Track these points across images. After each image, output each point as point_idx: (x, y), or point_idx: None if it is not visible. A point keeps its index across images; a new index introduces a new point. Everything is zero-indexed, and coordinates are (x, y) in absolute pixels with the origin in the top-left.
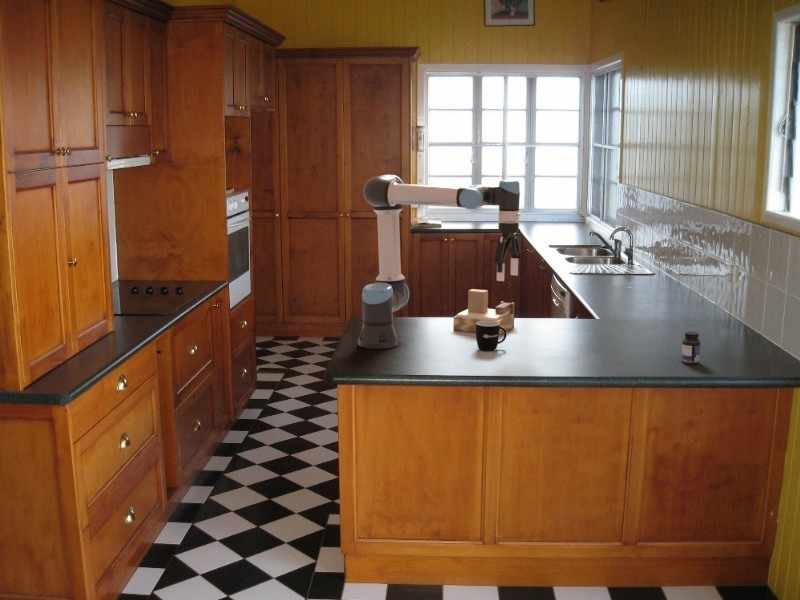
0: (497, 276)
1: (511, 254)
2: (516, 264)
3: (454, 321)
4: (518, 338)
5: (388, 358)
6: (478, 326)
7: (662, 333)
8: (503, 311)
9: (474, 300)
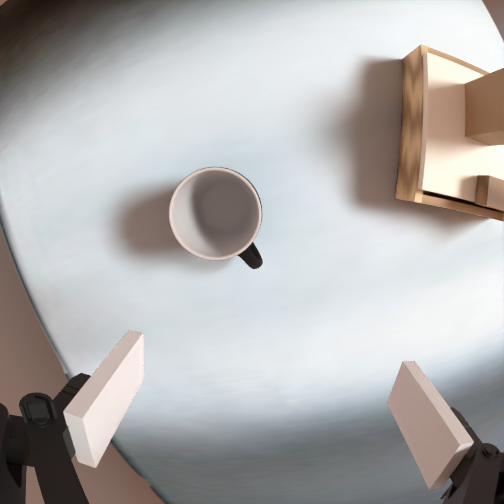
0: (117, 350)
1: (468, 478)
2: (416, 450)
3: (414, 52)
4: (383, 261)
5: (67, 24)
6: (176, 188)
7: None
8: (479, 204)
9: (489, 96)
